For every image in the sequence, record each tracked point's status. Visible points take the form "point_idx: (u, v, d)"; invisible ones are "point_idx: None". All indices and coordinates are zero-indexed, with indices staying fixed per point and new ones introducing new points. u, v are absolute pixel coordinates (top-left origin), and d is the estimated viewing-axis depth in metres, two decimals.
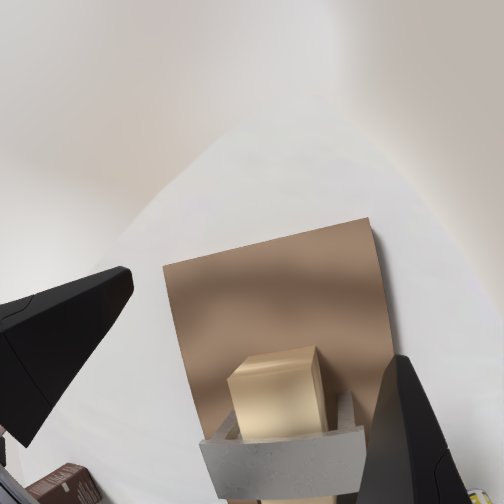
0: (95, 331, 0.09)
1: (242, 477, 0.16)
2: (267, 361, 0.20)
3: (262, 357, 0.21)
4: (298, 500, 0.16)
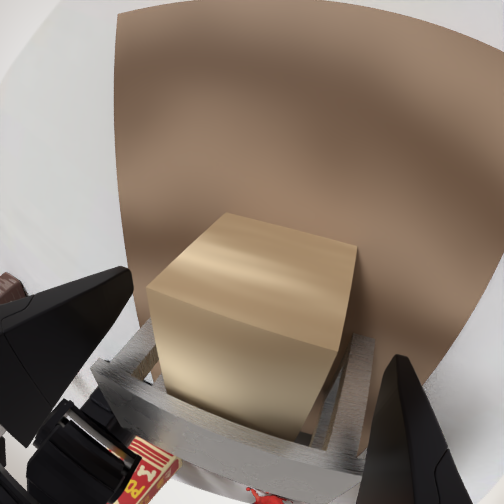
0: (95, 331, 0.09)
1: (152, 430, 0.11)
2: (253, 255, 0.10)
3: (248, 229, 0.11)
4: None
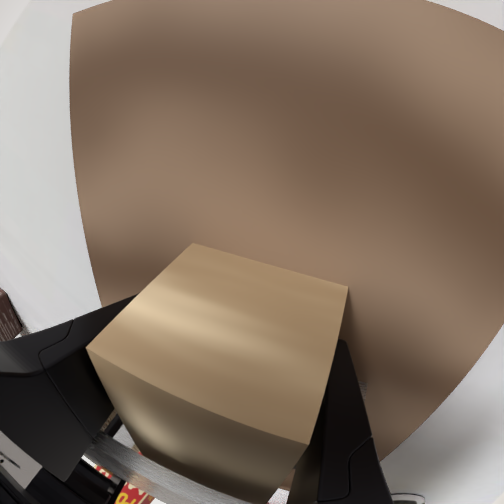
0: None
1: (121, 473, 0.09)
2: (216, 303, 0.08)
3: (216, 266, 0.09)
4: None
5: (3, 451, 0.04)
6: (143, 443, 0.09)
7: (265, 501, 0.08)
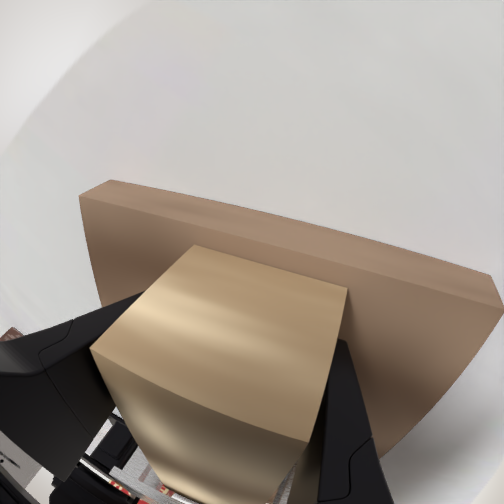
0: None
1: None
2: (218, 305, 0.08)
3: (217, 267, 0.09)
4: (208, 500, 0.11)
5: (3, 451, 0.04)
6: (145, 442, 0.09)
7: (265, 500, 0.08)
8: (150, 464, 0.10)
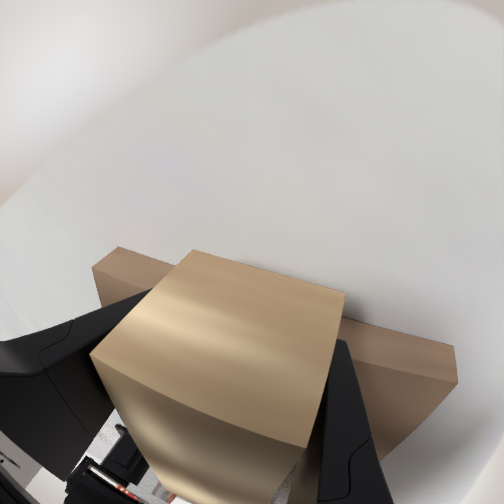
0: None
1: None
2: (217, 311, 0.08)
3: (216, 272, 0.09)
4: (208, 501, 0.11)
5: (3, 451, 0.04)
6: (145, 445, 0.09)
7: (264, 502, 0.08)
8: (150, 466, 0.11)
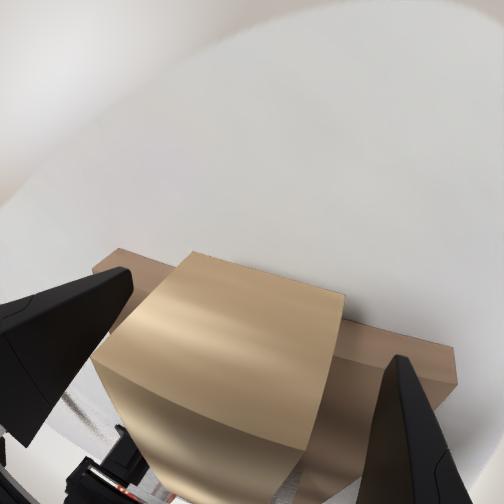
0: (95, 331, 0.09)
1: None
2: (217, 313, 0.08)
3: (216, 275, 0.09)
4: (208, 502, 0.11)
5: None
6: (145, 446, 0.09)
7: (264, 503, 0.08)
8: None
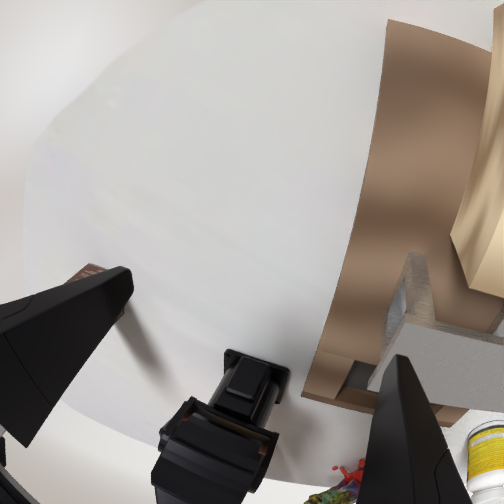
0: (95, 331, 0.09)
1: (424, 373, 0.12)
2: None
3: None
4: None
5: None
6: None
7: None
8: None
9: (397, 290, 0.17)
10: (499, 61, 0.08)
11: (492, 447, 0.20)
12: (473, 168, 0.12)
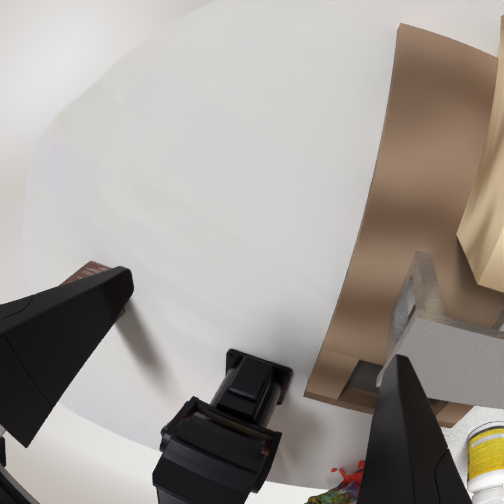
0: (95, 331, 0.09)
1: (432, 369, 0.12)
2: None
3: None
4: None
5: None
6: None
7: None
8: None
9: (404, 288, 0.17)
10: None
11: (492, 447, 0.20)
12: (480, 169, 0.12)
